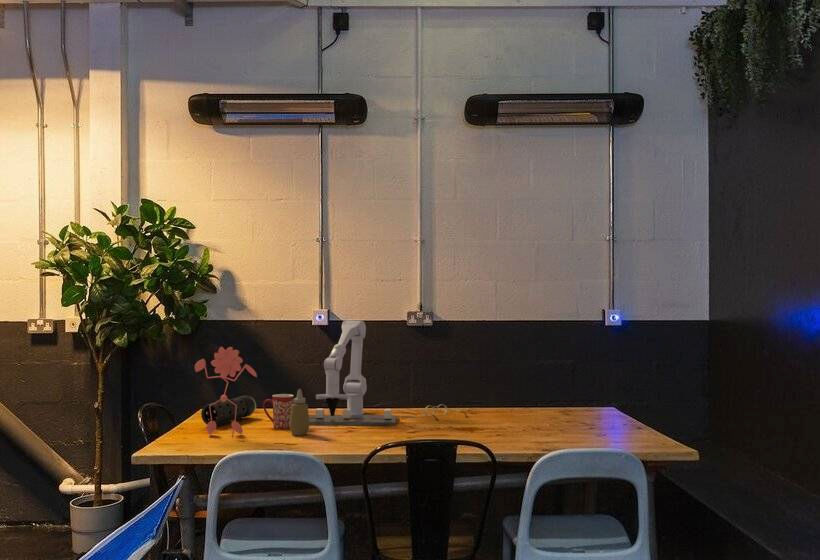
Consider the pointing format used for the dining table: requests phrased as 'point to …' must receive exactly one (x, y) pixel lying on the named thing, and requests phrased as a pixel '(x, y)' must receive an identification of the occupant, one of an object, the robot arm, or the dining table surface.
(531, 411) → the dining table surface
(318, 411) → the beige block
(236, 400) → the muzzle brake
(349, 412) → the block
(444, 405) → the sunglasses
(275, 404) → the mug
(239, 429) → the figurine
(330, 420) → the breaker panel
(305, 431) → the squeeze bottle
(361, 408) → the robot arm
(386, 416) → the block
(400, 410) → the dining table surface
